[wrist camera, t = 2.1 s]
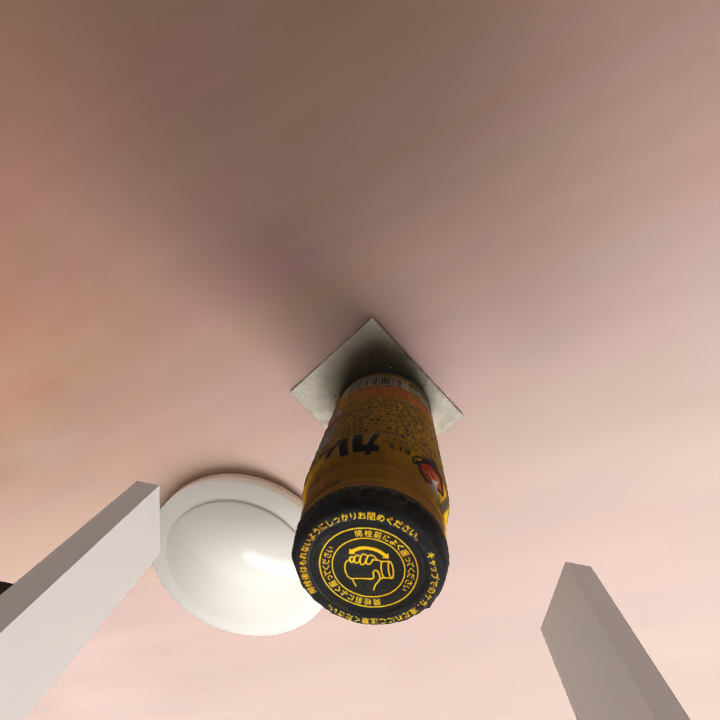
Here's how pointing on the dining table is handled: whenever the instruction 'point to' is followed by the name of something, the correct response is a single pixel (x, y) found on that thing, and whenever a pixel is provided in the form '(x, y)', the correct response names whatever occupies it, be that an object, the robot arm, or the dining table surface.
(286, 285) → the dining table surface
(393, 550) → the condiment
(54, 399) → the dining table surface
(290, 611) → the plate
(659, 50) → the dining table surface
